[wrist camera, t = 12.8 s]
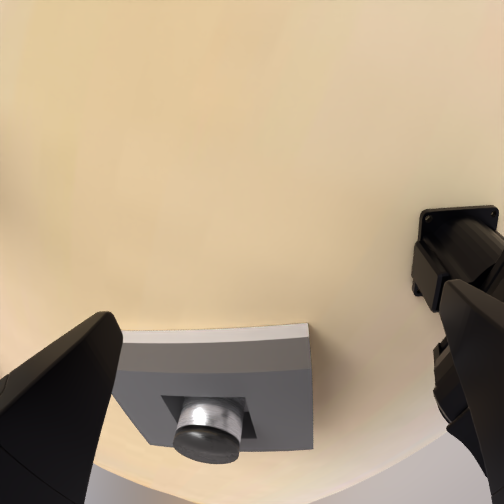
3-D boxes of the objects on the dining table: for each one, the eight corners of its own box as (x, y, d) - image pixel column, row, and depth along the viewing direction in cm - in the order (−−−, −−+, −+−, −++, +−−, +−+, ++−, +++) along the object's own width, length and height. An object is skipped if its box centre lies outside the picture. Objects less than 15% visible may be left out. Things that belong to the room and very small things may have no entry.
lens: (240, 373, 24) (230, 437, 19) (250, 407, 27) (244, 465, 21) (181, 373, 25) (163, 433, 20) (197, 406, 27) (184, 461, 22)
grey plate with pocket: (307, 322, 23) (311, 368, 19) (311, 410, 29) (313, 449, 25) (115, 330, 26) (94, 368, 22) (160, 410, 31) (149, 444, 27)
